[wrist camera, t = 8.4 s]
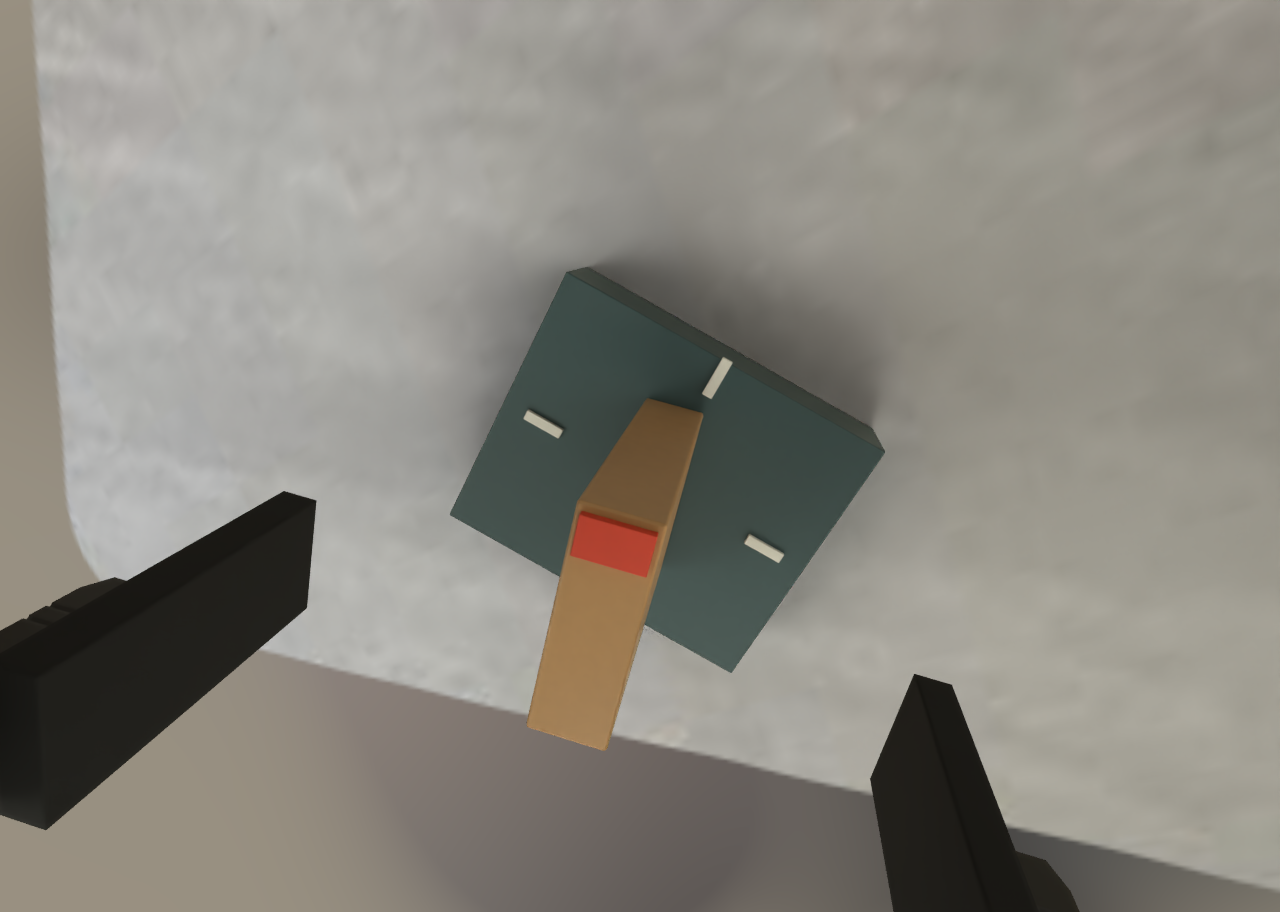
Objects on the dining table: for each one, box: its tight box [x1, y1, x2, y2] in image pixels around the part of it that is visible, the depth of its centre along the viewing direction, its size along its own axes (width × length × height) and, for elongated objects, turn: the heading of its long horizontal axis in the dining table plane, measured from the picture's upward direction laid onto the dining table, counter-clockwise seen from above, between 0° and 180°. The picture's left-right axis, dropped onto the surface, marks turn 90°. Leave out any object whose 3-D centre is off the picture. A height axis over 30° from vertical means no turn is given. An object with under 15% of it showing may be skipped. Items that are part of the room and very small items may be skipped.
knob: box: [527, 398, 703, 751], centre depth 21 cm, size 6×2×10 cm, turn 166°
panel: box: [450, 267, 885, 673], centre depth 28 cm, size 12×10×3 cm
